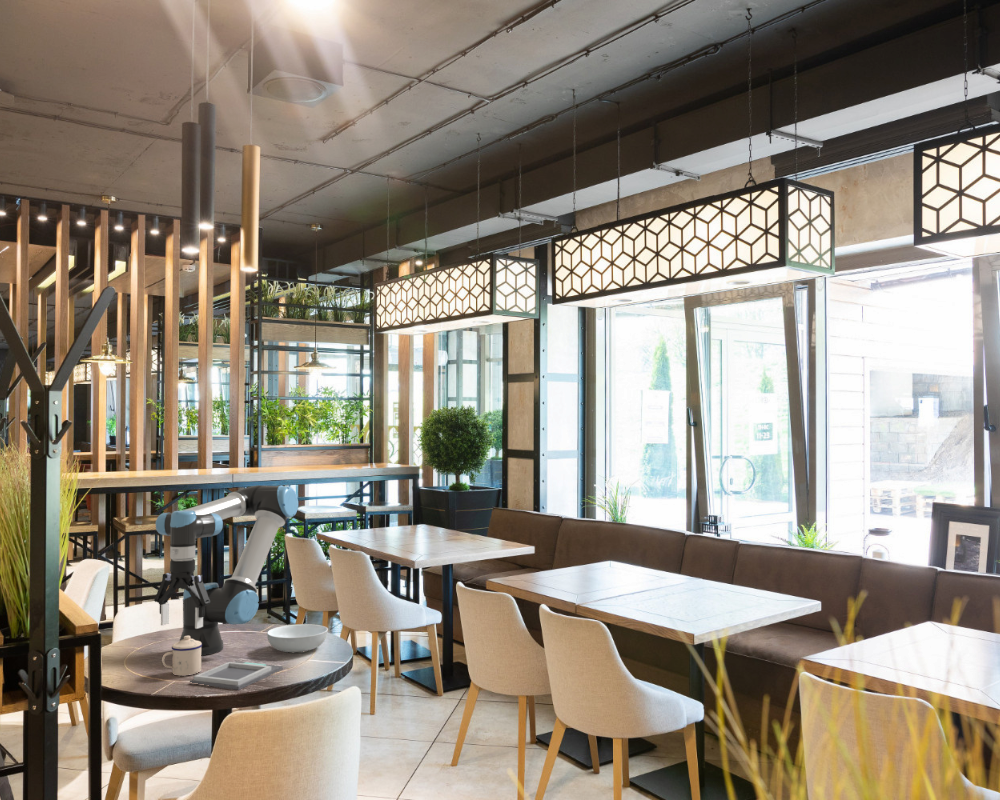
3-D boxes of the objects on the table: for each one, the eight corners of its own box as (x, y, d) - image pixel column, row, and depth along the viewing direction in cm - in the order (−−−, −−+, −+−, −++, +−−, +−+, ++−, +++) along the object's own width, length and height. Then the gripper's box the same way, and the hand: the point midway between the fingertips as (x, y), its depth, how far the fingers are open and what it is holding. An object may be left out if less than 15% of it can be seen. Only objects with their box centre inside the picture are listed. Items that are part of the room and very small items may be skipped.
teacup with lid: (198, 667, 266) (199, 631, 266) (204, 674, 258) (204, 637, 258) (159, 673, 259) (159, 636, 260) (164, 680, 252) (164, 642, 252)
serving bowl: (339, 649, 286) (339, 629, 286) (286, 661, 271) (286, 640, 272) (308, 639, 301) (308, 620, 301) (256, 650, 286) (256, 630, 286)
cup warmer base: (189, 684, 248) (189, 676, 248) (236, 664, 268) (236, 657, 269) (238, 690, 242) (238, 682, 242) (282, 669, 262) (282, 662, 262)
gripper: (143, 559, 261) (142, 625, 260) (206, 562, 252) (205, 631, 251) (160, 555, 268) (159, 620, 267) (222, 559, 259) (221, 626, 258)
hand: (181, 626), depth 259 cm, fingers open, 13 cm apart
